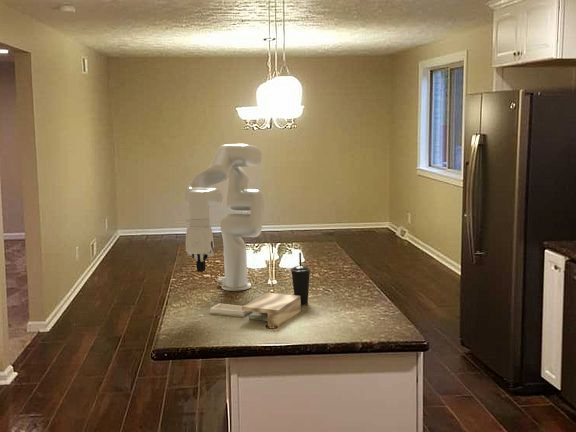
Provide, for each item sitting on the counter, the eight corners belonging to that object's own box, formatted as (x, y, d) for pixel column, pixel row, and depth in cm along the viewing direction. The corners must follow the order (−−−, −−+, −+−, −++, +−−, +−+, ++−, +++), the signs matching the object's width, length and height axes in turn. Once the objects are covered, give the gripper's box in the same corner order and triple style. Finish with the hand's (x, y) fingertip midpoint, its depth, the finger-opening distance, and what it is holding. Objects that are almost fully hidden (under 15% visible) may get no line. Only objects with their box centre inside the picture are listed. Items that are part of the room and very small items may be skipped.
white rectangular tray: (210, 313, 268) (210, 308, 268) (219, 308, 275) (219, 303, 274) (243, 316, 263) (243, 311, 262) (252, 311, 269) (252, 306, 269)
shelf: (242, 322, 256) (241, 306, 255) (267, 307, 274) (266, 292, 273) (278, 326, 250) (277, 310, 249) (300, 311, 268) (300, 295, 267)
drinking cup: (299, 299, 284) (298, 250, 281) (315, 302, 279) (314, 252, 276) (287, 304, 278) (286, 253, 275) (303, 307, 273) (301, 255, 270)
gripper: (176, 223, 268) (178, 272, 271) (211, 225, 262) (213, 274, 264) (187, 221, 275) (189, 268, 277) (221, 222, 269) (223, 270, 271)
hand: (201, 271), depth 271 cm, fingers closed
